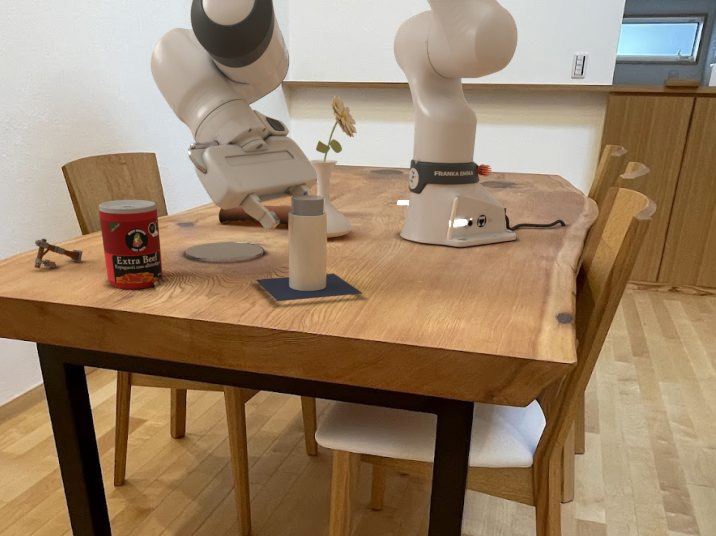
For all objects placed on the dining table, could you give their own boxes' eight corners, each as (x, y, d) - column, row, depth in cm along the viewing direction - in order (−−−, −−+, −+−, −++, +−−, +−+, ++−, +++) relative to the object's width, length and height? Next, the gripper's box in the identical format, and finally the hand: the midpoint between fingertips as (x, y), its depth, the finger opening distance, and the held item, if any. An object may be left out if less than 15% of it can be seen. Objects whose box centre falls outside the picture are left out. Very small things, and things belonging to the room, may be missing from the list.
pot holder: (333, 278, 99) (333, 273, 98) (362, 298, 89) (362, 293, 89) (255, 284, 95) (255, 279, 94) (277, 306, 85) (277, 300, 85)
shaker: (318, 279, 95) (319, 194, 90) (331, 289, 90) (333, 199, 86) (284, 282, 93) (283, 195, 88) (295, 292, 89) (295, 201, 84)
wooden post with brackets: (26, 265, 99) (32, 235, 98) (69, 276, 106) (75, 248, 106) (34, 267, 98) (40, 237, 98) (77, 277, 105) (83, 249, 105)
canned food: (113, 292, 90) (103, 210, 86) (103, 278, 96) (93, 201, 92) (169, 286, 93) (162, 206, 89) (156, 273, 100) (148, 198, 95)
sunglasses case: (313, 221, 139) (308, 195, 133) (304, 243, 135) (298, 218, 129) (235, 215, 143) (227, 190, 138) (224, 237, 139) (215, 212, 134)
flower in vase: (323, 244, 120) (325, 95, 110) (280, 235, 127) (278, 93, 117) (369, 235, 129) (375, 95, 119) (327, 226, 136) (329, 94, 126)
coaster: (252, 243, 120) (252, 240, 120) (272, 259, 109) (272, 256, 109) (180, 248, 116) (179, 244, 115) (193, 265, 104) (192, 261, 104)
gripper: (193, 126, 80) (260, 217, 79) (290, 121, 96) (346, 197, 95) (169, 162, 84) (233, 249, 83) (266, 152, 100) (320, 225, 99)
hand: (294, 221), depth 89 cm, fingers open, 8 cm apart
